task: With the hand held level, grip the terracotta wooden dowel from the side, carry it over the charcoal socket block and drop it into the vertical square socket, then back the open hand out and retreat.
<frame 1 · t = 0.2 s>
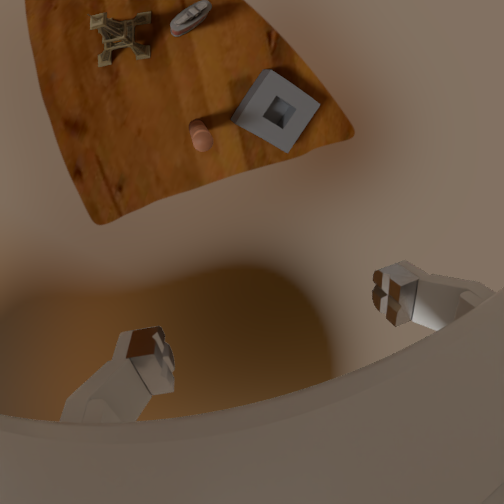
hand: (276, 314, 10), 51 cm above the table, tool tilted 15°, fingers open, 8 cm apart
lighter: (188, 22, 37), on the table
holder: (271, 109, 53), on the table
peg: (196, 126, 51), on the table
eiffel tower: (124, 38, 36), on the table
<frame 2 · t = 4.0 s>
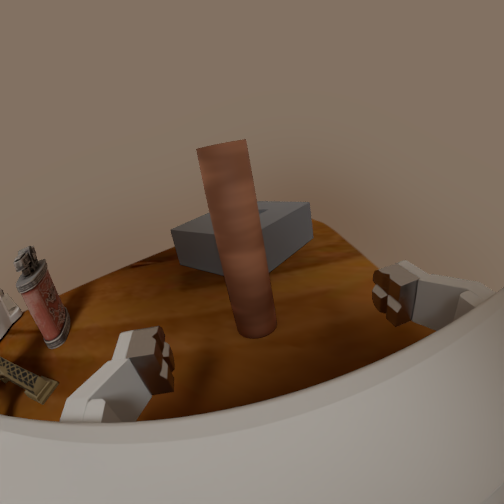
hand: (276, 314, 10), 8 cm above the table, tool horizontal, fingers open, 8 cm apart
lighter: (59, 330, 25), on the table
holder: (247, 251, 37), on the table
peg: (257, 325, 22), on the table
eiffel tower: (4, 408, 13), on the table
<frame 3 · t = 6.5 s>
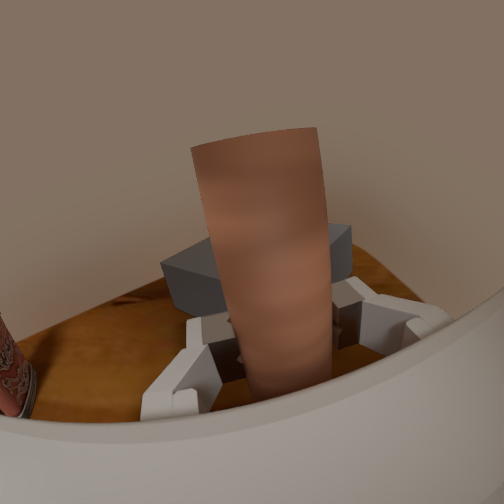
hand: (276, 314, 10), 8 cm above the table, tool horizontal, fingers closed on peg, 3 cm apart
lighter: (24, 396, 15), on the table
holder: (265, 290, 27), on the table
peg: (297, 439, 12), on the table, touching gripper
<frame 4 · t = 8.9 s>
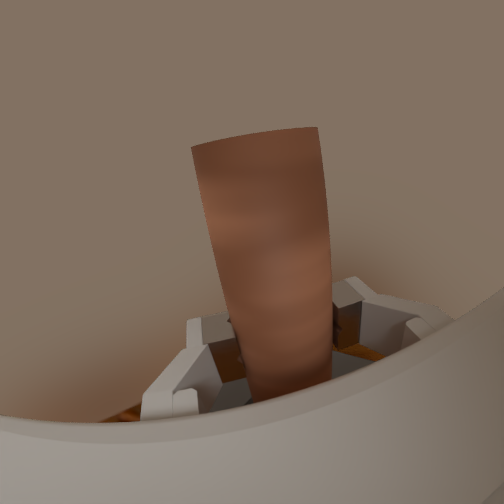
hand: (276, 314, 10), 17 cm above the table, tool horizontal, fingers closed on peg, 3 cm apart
holder: (291, 430, 20), on the table
peg: (297, 439, 12), point 9 cm above the table, touching gripper
when the fingers open (11 cm above the table, at t = 11.5 s): peg drops 1 cm, resting on holder.
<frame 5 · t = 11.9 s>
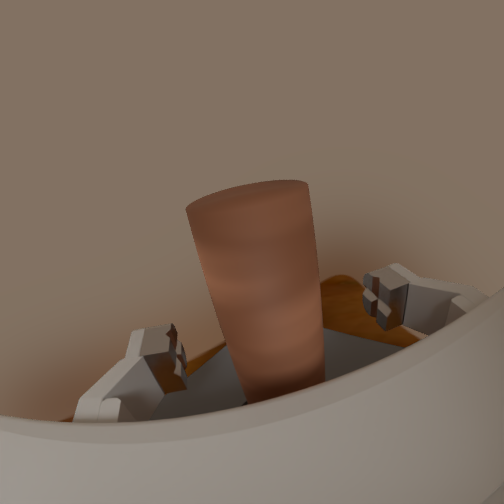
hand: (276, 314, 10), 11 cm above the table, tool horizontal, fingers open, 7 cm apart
holder: (298, 456, 13), on the table
peg: (297, 449, 12), point 1 cm above the table, touching holder
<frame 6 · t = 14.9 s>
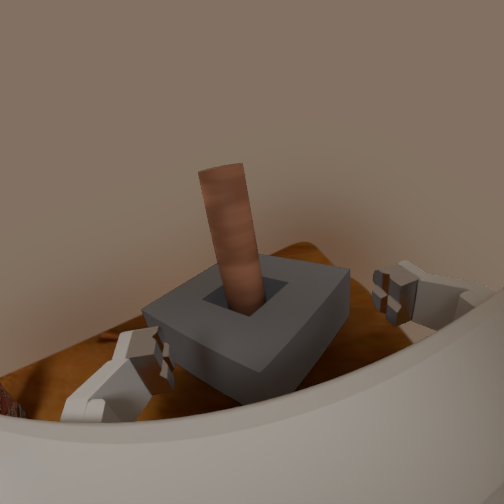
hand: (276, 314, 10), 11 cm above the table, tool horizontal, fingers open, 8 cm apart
lighter: (16, 438, 12), on the table
holder: (254, 337, 24), on the table
peg: (252, 329, 24), point 1 cm above the table, touching holder
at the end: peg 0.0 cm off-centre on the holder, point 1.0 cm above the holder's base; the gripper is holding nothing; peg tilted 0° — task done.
